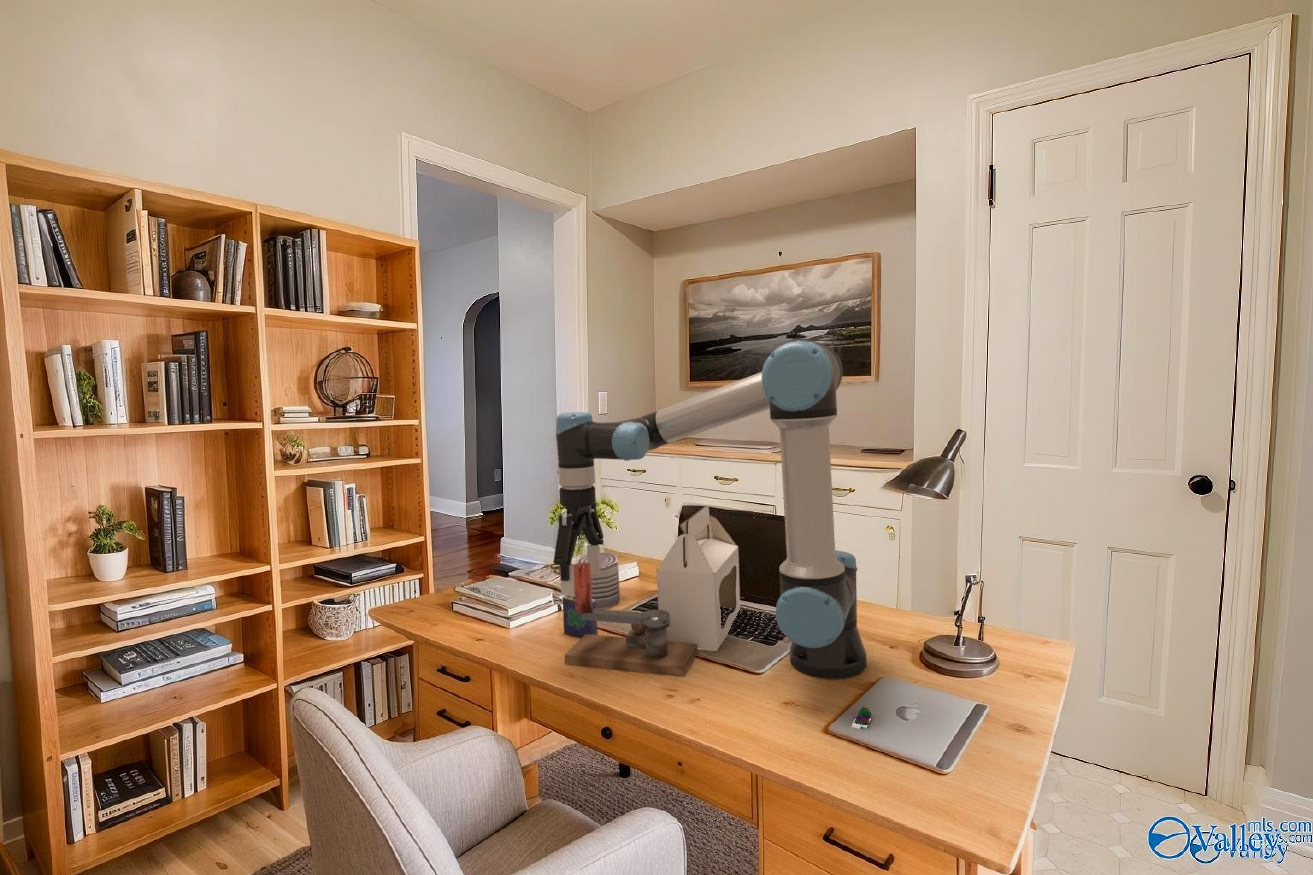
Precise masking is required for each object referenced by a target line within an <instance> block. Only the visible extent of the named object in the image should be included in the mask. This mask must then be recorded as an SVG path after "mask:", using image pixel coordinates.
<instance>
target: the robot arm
mask: <svg viewBox="0 0 1313 875" xmlns="http://www.w3.org/2000/svg"><path fill="white" fill-rule="evenodd" d="M842 379H843V366H842V362H841V360H840V357H839V356H838V355H837V353H836V352H835V351H834V350H833V349H832V348H831V347H829V346H828V345H826V344H823V343H820V342H815V341H810V340H795V341H790V342H786V343H784V344H783V345H781V346H778V347H777V348H776V349H775V350H773V351H772V352H771V353H770V354H769V356H768V357H767V359H766V360H765V362H764V364H763V368H762V370H761V371H760V372H757V373H755V374H753V375H750V376H748V377H744V378H742V379H739V380H736V381H734V382H731V383H729V384H726V385H723V386H721V387H717V388H715V389H712V390H710V391H707V392H705V393H702V394H699V395H696V396H694V397H692V398H691V397H690V398H689V399H685V400H684V401H681V402H680V401H679V402H678V403H675V404H672V405H670V406H669V405H668V406H666V407H665V408H662V409H659V410H657V411H652V412H650V413H647V414H646V415H645V414H644V415H643V416H639V417H636V418H632V419H627V420H626V419H625V420H622V421H615V422H614V421H613V422H599V421H598V422H596V421H594V420H593V416H592V414H591V413H590V412H586V411H585V412H584V411H576V412H575V411H573V412H572V411H571V412H562V413H560V414H558V415H557V417H556V419H555V420H556V421H555V422H556V429H555V432H556V433H555V437H556V438H555V440H556V446H557V448H556V449H557V450H556V451H557V467H558V468H557V469H558V470H557V472H556V473H557V475H558V485H559V486H560V488H559V490H558V492H559V493H558V494H559V504H560V505H561V507H564V508H566V512H565V513H566V514H560V515H558V530H557V537H556V542H555V550H554V556H553V560H552V561H553V562H552V563H553V564H554V565H557V566H558V565H559V577H560V580H559V581H560V593H561V594H560V595H561V596H565V595H567V596H574V595H575V587H574V567H573V565H574V563H572V561H573V560H572V559H573V556H574V552H575V549H576V545H577V540H578V537H579V536H580V535H581V534H582V533H583V535H584V537H585V539H586V541H587V545H586V555H587V563H589V564H590V572H591V574H593V575H600V553H601V552H600V545H601V546H602V545H604V542H605V541H604V533H603V530H602V525H601V522H600V519H599V515H598V511H597V510H598V509H597V503H596V501H597V500H596V499H597V497H596V487H595V485H594V484H595V483H596V476H595V473H596V472H595V460H596V459H598V460H601V459H602V460H623V461H628V462H629V461H632V460H633V461H634V460H642V459H644V457H645V456H646V454H647V453H648V451H653V450H656V449H659V448H661V447H663V446H666V445H668V444H671V443H673V442H674V443H675V442H677V441H680V440H683V439H686V438H688V437H692V436H694V435H697V434H700V433H703V432H706V431H709V430H711V429H715V428H717V427H721V426H723V425H726V424H729V423H732V422H736V421H738V420H740V419H744V418H747V417H750V416H753V415H755V414H759V413H761V412H764V411H767V410H769V416H770V417H769V418H770V422H773V424H774V425H776V427H777V428H778V429H779V439H780V440H779V442H780V456H781V458H780V459H781V475H782V477H781V478H782V491H783V493H782V494H783V496H782V497H783V510H784V523H785V524H784V527H785V530H784V531H785V544H786V545H785V546H786V548H785V549H786V559H785V560H784V561H783V562H782V563H781V564H780V565H779V570H778V571H779V584H780V585H779V588H780V590H779V591H780V596H779V597H778V600H777V602H776V606H775V619H776V623H777V626H778V628H779V630H780V631H781V632H782V634H783V635H784V636H785V637H787V638H788V639H789V640H790V642H791V644H790V648H789V661H790V664H791V665H792V667H793V668H794V669H796V670H797V671H799V672H801V673H803V674H806V675H808V676H812V677H816V678H821V679H830V680H831V679H847V678H851V677H854V676H857V675H860V674H862V673H863V672H864V671H865V670H866V668H867V652H866V649H865V646H864V643H863V641H862V638H861V635H860V632H859V629H858V609H857V608H858V607H857V606H858V605H857V604H858V602H857V601H858V597H857V593H858V592H857V571H858V567H857V559H856V556H854V554H852V553H850V552H846V551H842V550H836V540H835V525H834V524H835V522H834V521H835V518H834V505H833V504H834V502H833V501H834V499H833V483H832V482H833V481H832V480H833V479H832V465H831V464H832V462H831V460H832V459H831V444H830V443H831V442H830V428H829V427H830V425H831V424H832V423H833V421H834V420H835V419H836V418H837V417H838V407H837V406H838V404H837V402H838V401H837V390H838V389H839V387H840V385H841V382H842Z"/></svg>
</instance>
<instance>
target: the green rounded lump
mask: <svg viewBox="0 0 1313 875" xmlns="http://www.w3.org/2000/svg"><path fill="white" fill-rule="evenodd" d="M870 718H871V719H872V712H871V709H869V708H868V707H866V706H862V707H861V708H860V709H859V710H858V714H857V715H856V717H855V719H856V720H855V722H854V723H856V724H860V725H861V724H862V725H868V722H869V719H870ZM869 723H870V722H869Z"/></svg>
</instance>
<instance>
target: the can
mask: <svg viewBox="0 0 1313 875" xmlns="http://www.w3.org/2000/svg"><path fill="white" fill-rule="evenodd" d="M576 563H587V554H586V555H584V556H583V555H582V556H581V557H579V558H576V561H575V564H576ZM619 577H620V575H619V555H617V554H614V553H610V552H607V551H605V552H600V575H593V574H591V591H592V599H595V600H596V609H601V610H611V608H613V607H616V606H618V605H619V604H620V600H621V598H620V578H619Z"/></svg>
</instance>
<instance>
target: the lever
mask: <svg viewBox="0 0 1313 875" xmlns="http://www.w3.org/2000/svg"><path fill="white" fill-rule="evenodd" d="M573 567H574V587H575V608H576V612H577V613H581V614H582V620H591V621H597V622H607V623H616V624H617V623H618V624H630V625H631V624H640V625H641V626H642V627H643V628H644V629H647V630H661V629H665V628H667V627H668V626H669V625H670V614H669V613H668V612H667V611H664V610H658V609H651V610H646V611H644V612H639V611H638V612H637V611H624V610H623V611H622V610H611V609H602V610H601V609H592V591H591V572H590V564H589V563H576V562H575V564H574V563H573Z"/></svg>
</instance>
